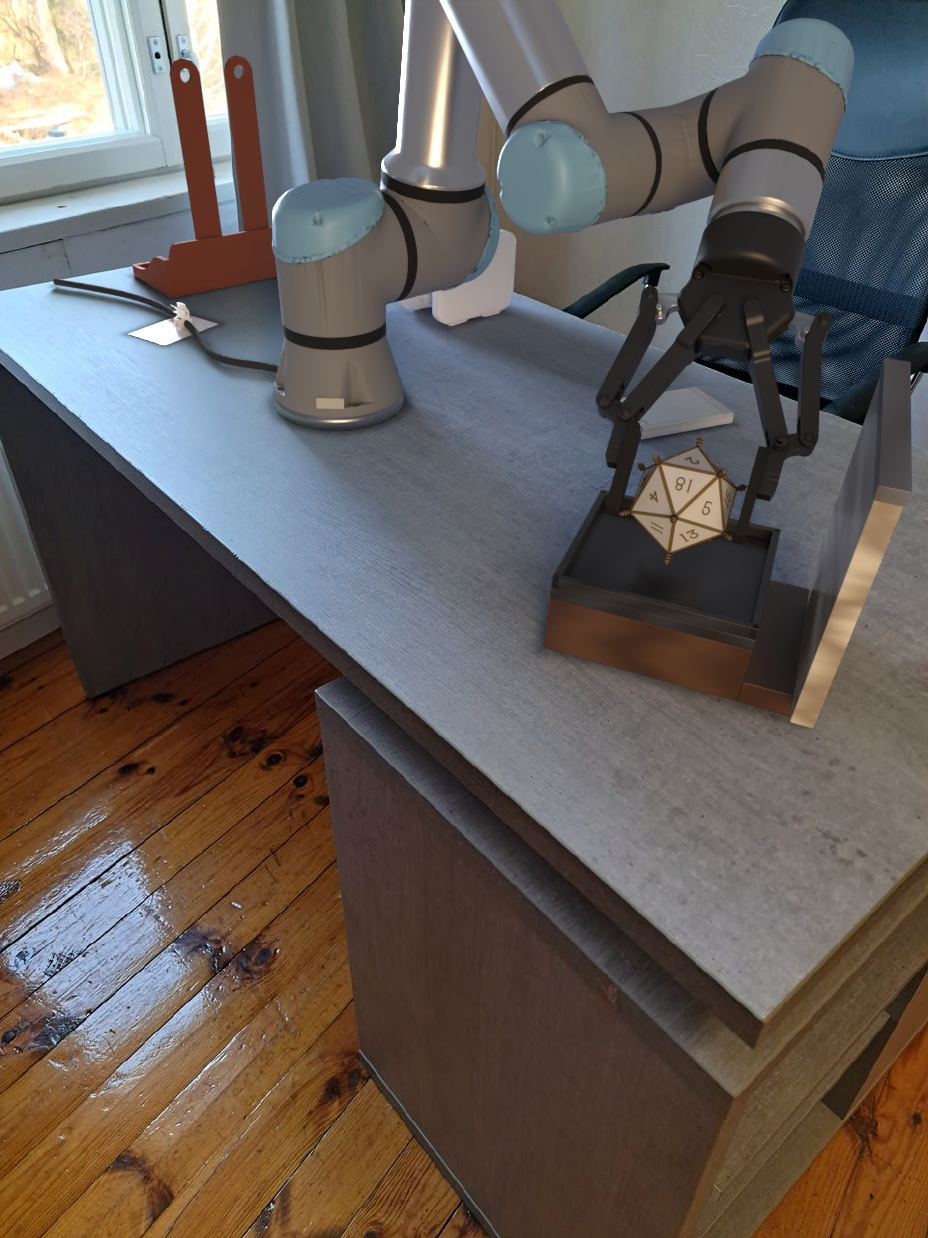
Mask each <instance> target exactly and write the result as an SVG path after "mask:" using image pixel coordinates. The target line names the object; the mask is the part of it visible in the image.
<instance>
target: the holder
mask: <svg viewBox="0 0 928 1238" xmlns="http://www.w3.org/2000/svg"><path fill="white" fill-rule="evenodd" d="M911 365H912V363H911V361H906V360H900V359H895V358H888V357H884V359H883V361H882V364H881V367H880V369H879V370H880V371H879V372H880V373H879V378H878V380H877V384H876V386H875V388H874V389H875V390H874V392H873V395H872V398H871V400H870V404H869V407H868V409H867V413H866V415H865V418H864V421H863V424H862V427H861V429H860V432H859V435H858V437H857V441H856V444H855V447H854V450H853V453H852V456H851V459H850V461H849V465H848V467H847V470H846V472H845V475H844V479H843V482H842V484H841V488H840V490H839V493H838V496H837V498H836V502H835V505H834V508H833V510H832V513H831V516H830V519H829V521H828V525H827V528H826V530H825V533H824V537H823V539H822V541H821V545H820V548H819V550H818V552H817V556H816V559H815V562H814V565H813V567H812V571H811V577H810V585H809V588H806V587H802V586H798V585H794V584H790V583H786V582H782V581H777V580H772V575H773V569H774V564H775V560H776V555H777V550H778V546H779V541H780V536H781V532H782V529H780V528H776V527H772V526H767V525H763V524H758V523H754V522H750V523H749V526H748V530H747V534H746V537H745V541H744V544H743V545H740V544H736V543H733V540H727V539H726V538H725V537H724V535H720V536H717V537H715V538H713V539H712V541H711V542H706V541H704V542H701V543H699V544H696V545H693V546H691V547H688V548H685V549H683V550H680V551H677V552H675V553H672V554H671V557H672V558H671V561H670V562H669V563H668V564H667V565H666V563H665V560H664V559H665V556H666V554H667V552H666V551H665V550H664V549H663V548H662V547H661V546H660V544H659V543H658V542H657V541H656V540H655V539H654V538H653V537H652V536H651V535H650V534H649V533H648V532H647V531H646V530H645V529H644V527H643V526H642V525H641V524H640V523H639V522H638V521H637V520H636V519H635V518H634V517H633V516H632V515H631V514H628V515H627V516H626V515H625V516H622V515H619V516H618V517H616V516H612V515H609V514H608V511H607V508H606V501H607V498H608V494H609V491H610V490H604V489H601V490H600V491H599V493H598V495H597V497H596V499H595V500H594V502H593V503H592V505H591V507H590V509H589V511H588V512H587V515H586V516H585V518H584V520H583V521H582V523H581V525H580V527H579V529H578V531H577V532H576V534H575V535H574V538H573V539H572V541H571V542H570V545H569V546H568V549H567V550H566V552H565V554H564V555H563V557H562V559H561V560H560V563H559V564H558V566H557V568H556V569H555V572H554V573H553V575H552V577H551V585H550V593H549V594H550V595H549V601H548V610H547V619H546V627H545V637H544V644H543V647H544V649H547V650H551V651H555V652H558V653H562V654H566V655H569V656H572V657H576V658H579V659H583V660H587V661H590V662H594V663H598V664H601V665H605V666H608V667H613V668H615V669H619V670H623V671H626V672H630V673H633V674H637V675H640V676H644V677H648V678H650V679H655V680H657V681H658V680H659V681H662V682H666V683H670V684H673V685H677V686H680V687H683V688H688V689H691V690H694V691H698V692H702V693H705V694H709V695H712V696H716V697H719V698H723V699H726V700H730V701H733V702H738V703H741V704H744V705H749V706H752V707H755V708H759V709H763V710H767V711H770V712H774V713H777V714H780V715H784V716H787V717H789V722H790V723H791V724H795V725H798V726H803V727H806V728H809V729H814V728H815V725H816V723H817V720H818V718H819V715H820V713H821V712H822V708H823V707H824V703H825V701H826V699H827V696H828V694H829V691H830V689H831V686H832V684H833V681H834V679H835V677H836V674H837V672H838V669H839V667H840V665H841V662H842V659H843V657H844V654H845V653H846V650H847V647H848V645H849V642H850V640H851V637H852V635H853V633H854V630H855V627H856V625H857V622H858V620H859V617H860V614H861V613H862V610H863V607H864V605H865V603H866V600H867V598H868V595H869V593H870V591H871V589H872V585H873V583H874V580H875V578H876V576H877V573H878V571H879V568H880V566H881V563H882V561H883V558H884V556H885V554H886V551H887V549H888V546H889V544H890V541H891V539H892V536H893V534H894V531H895V529H896V526H897V524H898V521H899V519H900V517H901V514H902V512H903V509H904V508H906V507H907V506H908V504H909V501H910V500H911V496H912V494H913V472H912V471H913V460H912V459H913V455H912V454H913V453H912V451H913V449H912V448H913V447H912V376H911V375H912V374H911V373H912V371H911V370H912V369H911V367H912V366H911ZM634 497H635V496H632V495H628V494H625V495H624V499H623V502H622V506H621V509H620V512H621V511H622V509H623V510H625V509H628V510H629V509H630V508H631V505H632V502H633V499H634ZM738 520H739V519H736V518H731V517H729V521H728V524H727V528H726V531H727V532H730V533H731V534H732V537H733V539H734V535H735V531H736V527H737V524H738Z"/></svg>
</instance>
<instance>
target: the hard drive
mask: <svg viewBox="0 0 928 1238" xmlns="http://www.w3.org/2000/svg"><path fill="white" fill-rule="evenodd" d="M627 397H628V396H627ZM627 397H622V398H621V400H620V402H623V401H624V400H625V399H626V398H627ZM734 416H735V413H734V411H732V410H731V409H730V408H728V407H726V406H725V405H724V404H723V403H721V402H719V401H718V400H716V399H715V398H713V397H712V396H711V395H709V394H708V393H706V392H704V390H702V389H700V388H698V387H697V386H693V387H685V388H678V389H672V390H665V392H664V393H663V394H662V395H661V396H660V397H659V399H658V400H657V401H656V402H655V403H654V404H653V406H652V407H651V408H650V409H649V410H648V411H647V412H646V414H645V415H644V416H643V417H642V418H641V419H640V421H639V422H638V423H640V428H641V435H642V436H641V440H646V439H652V438H657V437H663V436H668V435H673V434H679V433H685V432H690V431H695V430H701V429H706V428H711V427H717V426H723V425H728V424H732V423H733V420H734Z"/></svg>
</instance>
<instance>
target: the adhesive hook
mask: <svg viewBox="0 0 928 1238" xmlns="http://www.w3.org/2000/svg"><path fill="white" fill-rule="evenodd" d="M169 306H170V307H171V308H173V309H174V310H176V311H173V312H174V313H177V316H176V317H175V318H173V317H172V318H173V327H174V328H176V329H178V330H180V331H181V330H183V329H184V328H185V326H184V321H185V320H188V321H189V322H190V323H193V319H192V318H191V316H192V315H190V311H189V309H188V308H187V306H186V304H185V303H184V302H179V301H177V302H176V305H173V304H170V305H169ZM179 318H182V319H180V320H179Z"/></svg>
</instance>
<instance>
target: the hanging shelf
mask: <svg viewBox="0 0 928 1238" xmlns="http://www.w3.org/2000/svg"><path fill="white" fill-rule="evenodd" d="M238 66H239V67H240V68H241V72H242V74H241V76H240V77H239V78H238V77H237V76H236V74H235V69H236V67H238ZM183 70H187V72H188V75H189V77H188V80H187V81H183V80H182V77H181V73H182V71H183ZM223 73H224V75H223V76H224V82H225V90H226V98H227V106H228V107H227V108H228V114H229V115H228V116H229V122H230V123H229V124H230V129H231V130H230V131H231V139H232V146H233V154H234V164H235V170H236V179H237V185H238V194H239V195H238V196H239V203H240V210H241V219H242V227H243V230H241V231H237V232H230V233H225V234H224V233H223V232H222V224H221V223H222V222H221V217H220V209H219V203H218V195H217V189H216V188H217V187H216V181H215V174H214V173H215V172H214V167H213V160H212V152H211V145H210V138H209V130H208V124H207V123H208V122H207V116H206V110H205V109H206V108H205V102H204V95H203V87H202V80H201V73H200V71H199V69H198V67H197V65H196V64H195V63H194V61H192V60H189V59H186V58H183V57H180V58H177V59H175V60H174V61H173V62H172V64H171V66H170V69H169V78H170V79H169V80H170V85H171V91H172V98H173V104H174V110H175V116H176V123H177V129H178V130H177V131H178V136H179V137H178V138H179V144H180V148H181V154H182V162H183V168H184V173H185V179H186V186H187V192H188V200H189V206H190V213H191V218H192V223H193V225H192V226H193V232H194V237H195V239H190V240H184V241H183V240H182V241H178V242H174V243H172V244H171V245H170V247H169V252H168V257H167V258H166V257H164V256H154V257H153V258H152V259H151V260H150V261H144V262H143V261H142V262H139V263H133V264H131V267H132V271H133V276H134V277H136V278H137V279H139V280H141V281H142V282H143V283H146V284H147V285H149V286H150V287H152V288H154V289H155V290H157V291H158V292H160V293H162V294H163V295H166V296H167V297H168V298H169V299H174V298H179V297H183V296H187V295H192V294H198V293H202V292H207V291H212V290H217V289H223V288H228V287H232V286H236V285H242V284H246V283H251V282H257V281H261V280H266V279H270V278H275V277H276V278H277V270H276V261H275V254H274V252H273V249H272V240H273V231H272V225H271V226H270V225H269V224H270V223H269V216H268V206H267V196H266V187H265V179H264V168H263V160H262V159H263V158H262V150H261V149H262V148H261V140H260V131H259V121H258V111H257V103H256V93H255V84H254V75H253V68H252V65H251V63H250V62H249V61H248V59H246V57H243V56H240V55H237V54H235V55H232V56H230V57H228V58H227V60H226V62H225V63H224V69H223Z"/></svg>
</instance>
